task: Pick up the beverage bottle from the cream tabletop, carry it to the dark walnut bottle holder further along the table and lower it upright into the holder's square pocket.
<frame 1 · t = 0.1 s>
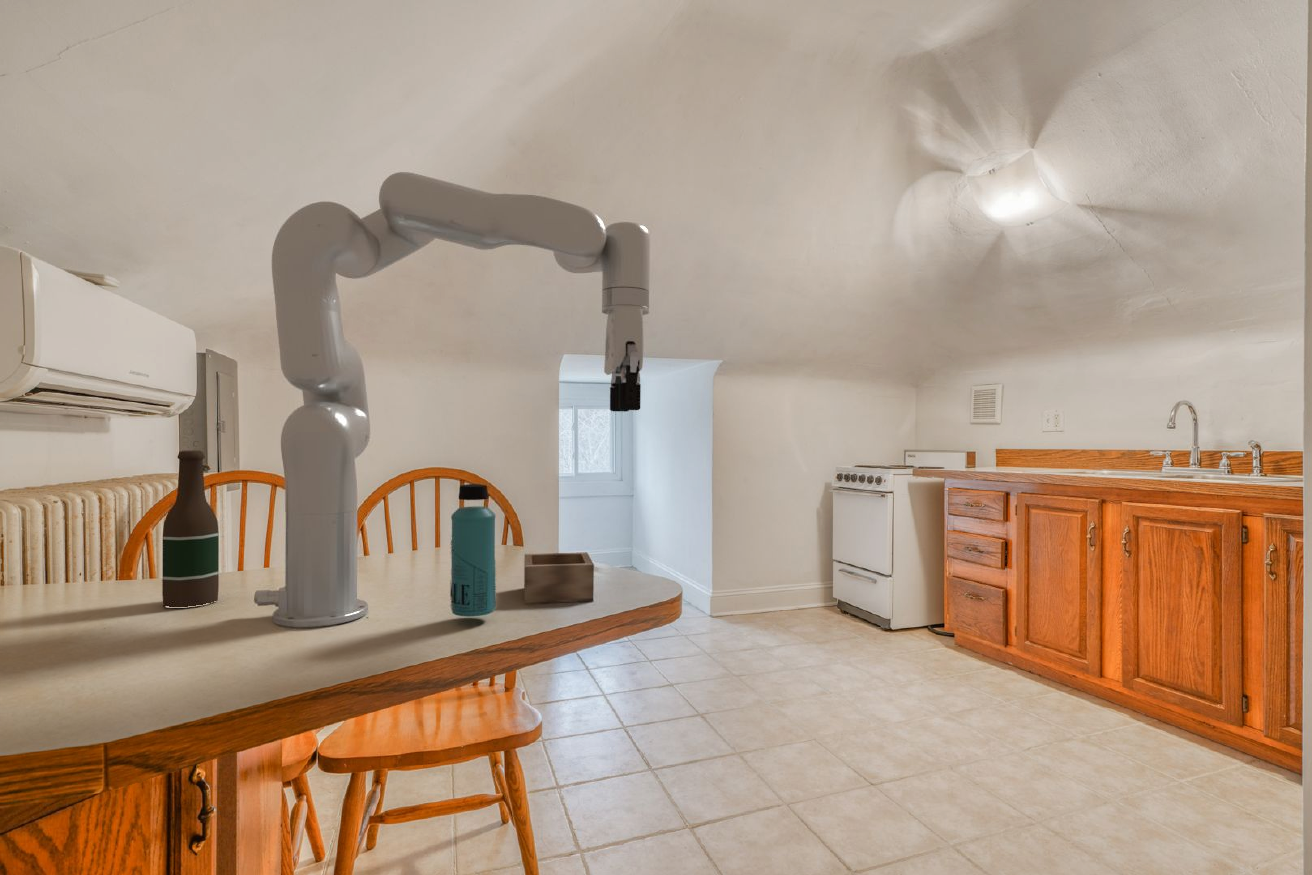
hand: (624, 410, 109), 31 cm above the counter, tool pointing down, fingers open, 9 cm apart
holder: (557, 594, 115), on the counter
beer bottle: (190, 604, 107), on the counter
beverage bottle: (472, 622, 99), on the counter
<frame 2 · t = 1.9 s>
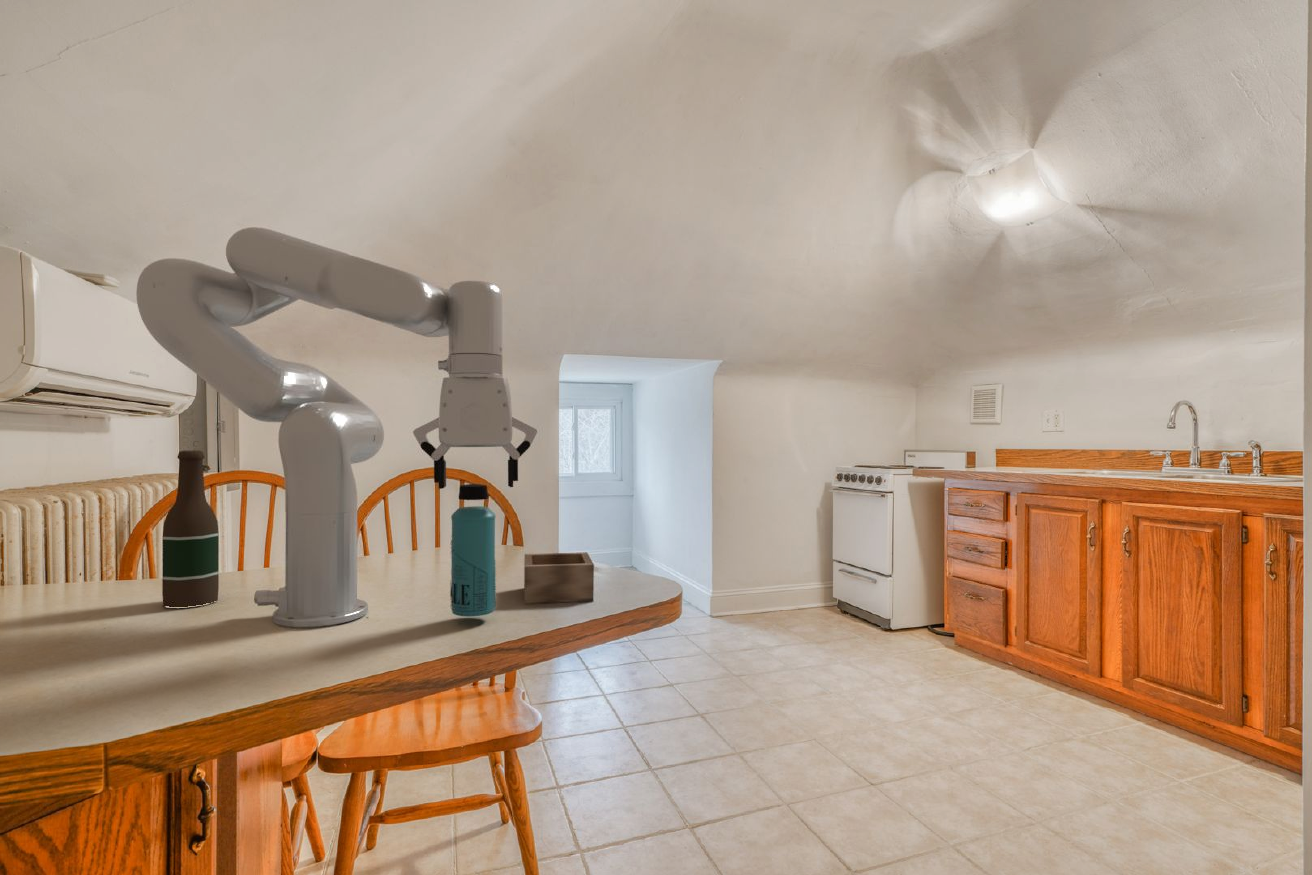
hand: (476, 487, 98), 20 cm above the counter, tool pointing down, fingers open, 9 cm apart
nothing on the counter moved.
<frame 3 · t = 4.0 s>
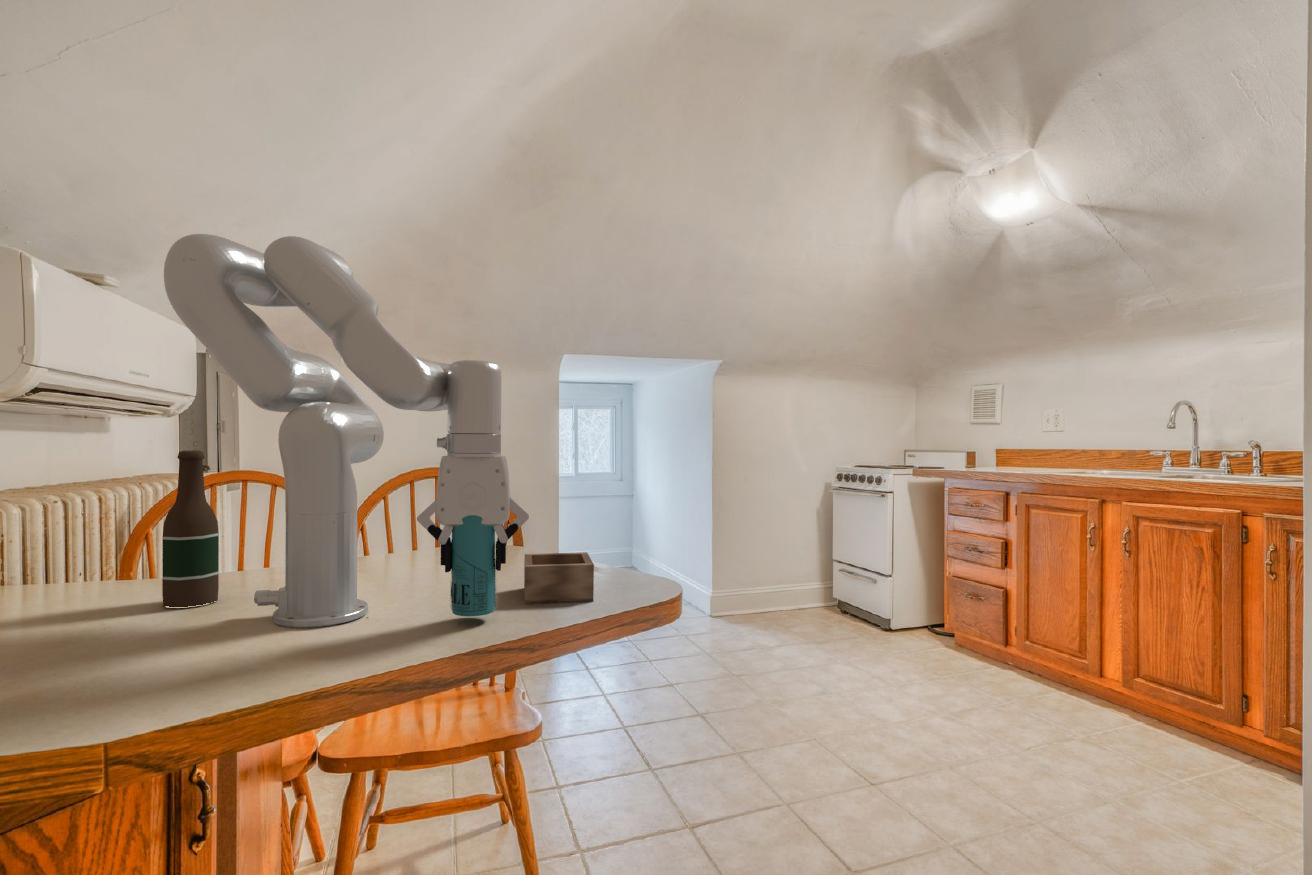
hand: (473, 568, 99), 8 cm above the counter, tool pointing down, fingers closed on beverage bottle, 6 cm apart
beverage bottle: (473, 622, 99), on the counter, touching gripper
everything else where it was.
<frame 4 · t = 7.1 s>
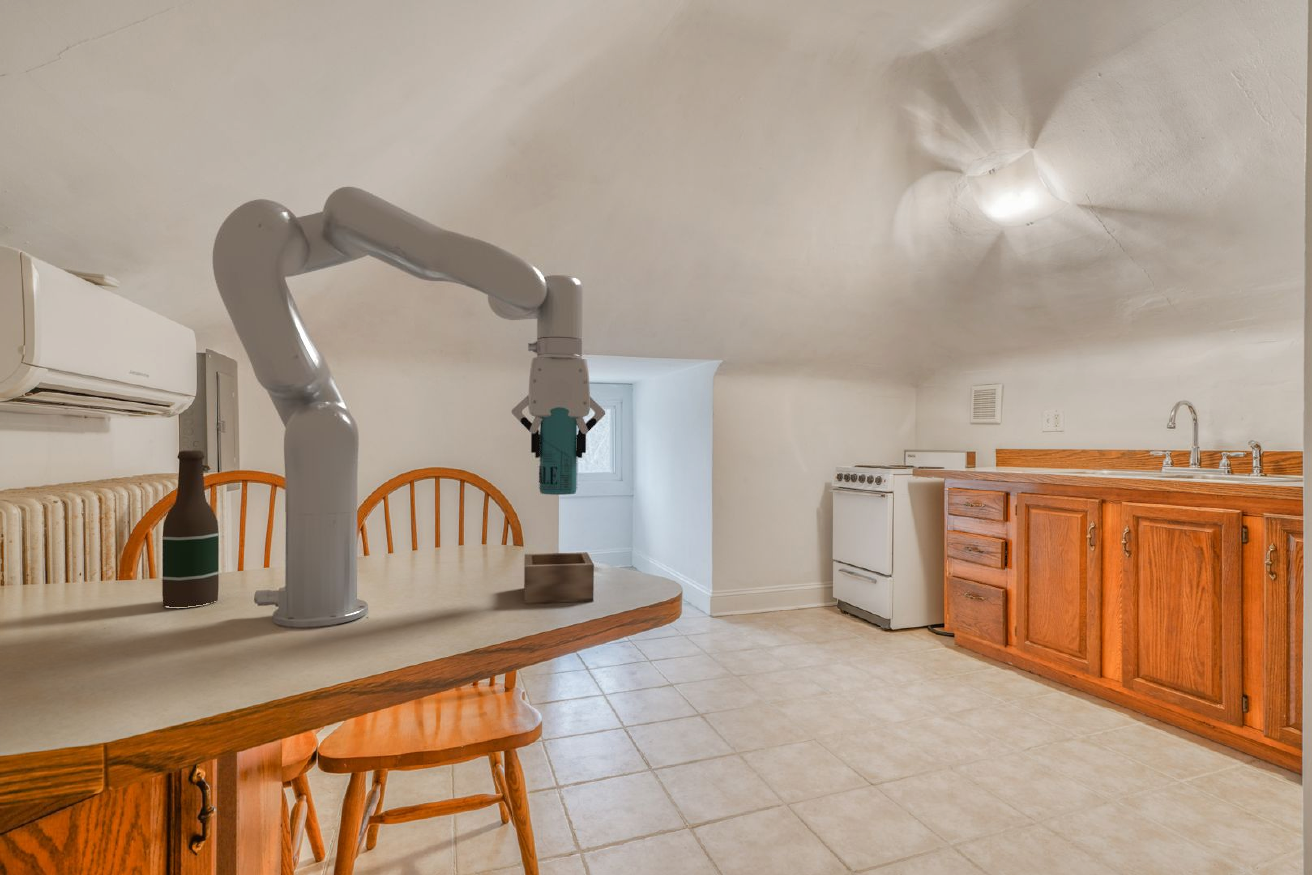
hand: (558, 456, 115), 23 cm above the counter, tool pointing down, fingers closed on beverage bottle, 6 cm apart
beverage bottle: (557, 502, 115), point 16 cm above the counter, touching gripper
everything else where it was.
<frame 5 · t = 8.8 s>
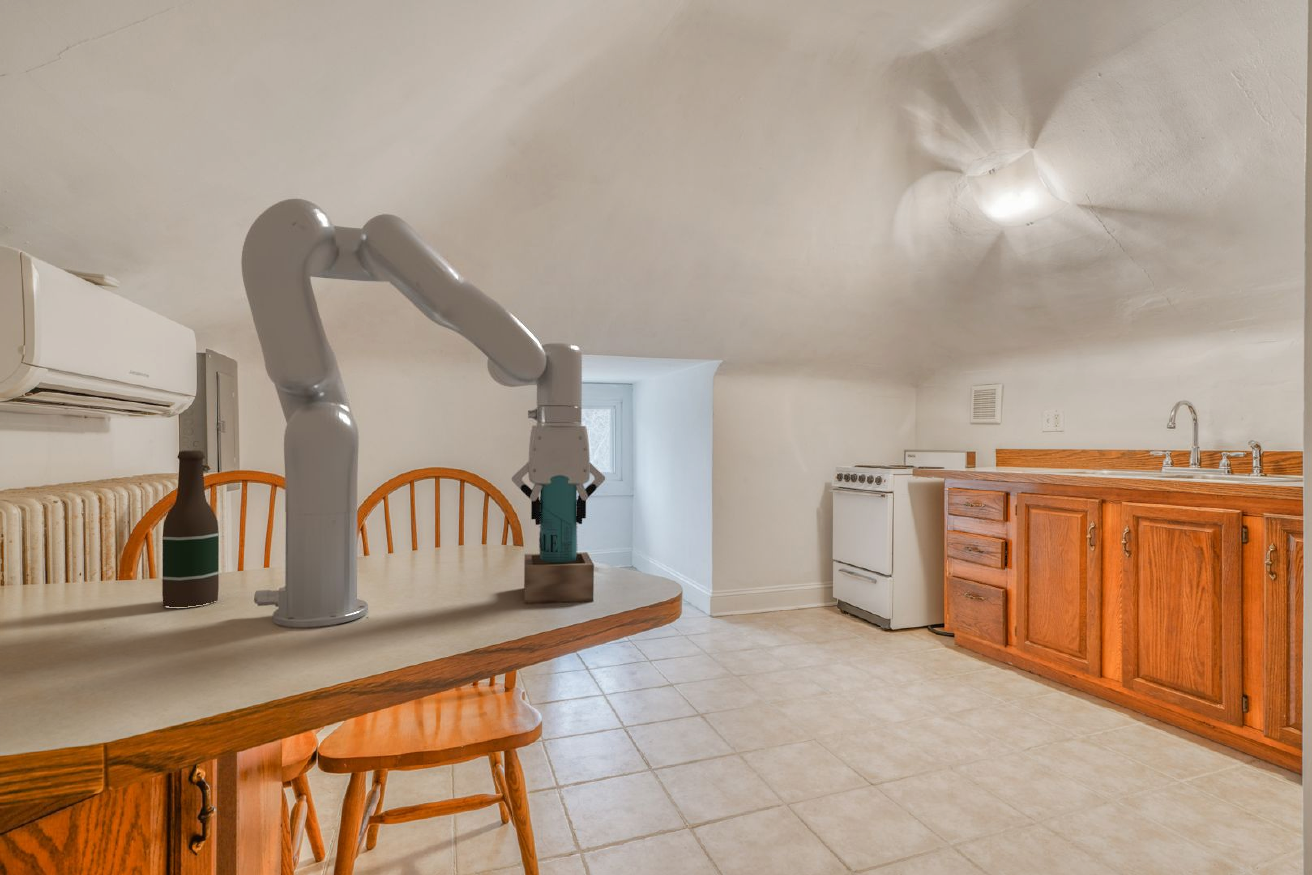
hand: (558, 522, 115), 12 cm above the counter, tool pointing down, fingers closed on beverage bottle, 6 cm apart
beverage bottle: (557, 568, 115), point 4 cm above the counter, touching gripper
everything else where it was.
when the fingers open (8 cm above the counter, at t = 10.4 s): beverage bottle stays where it is, resting on holder.
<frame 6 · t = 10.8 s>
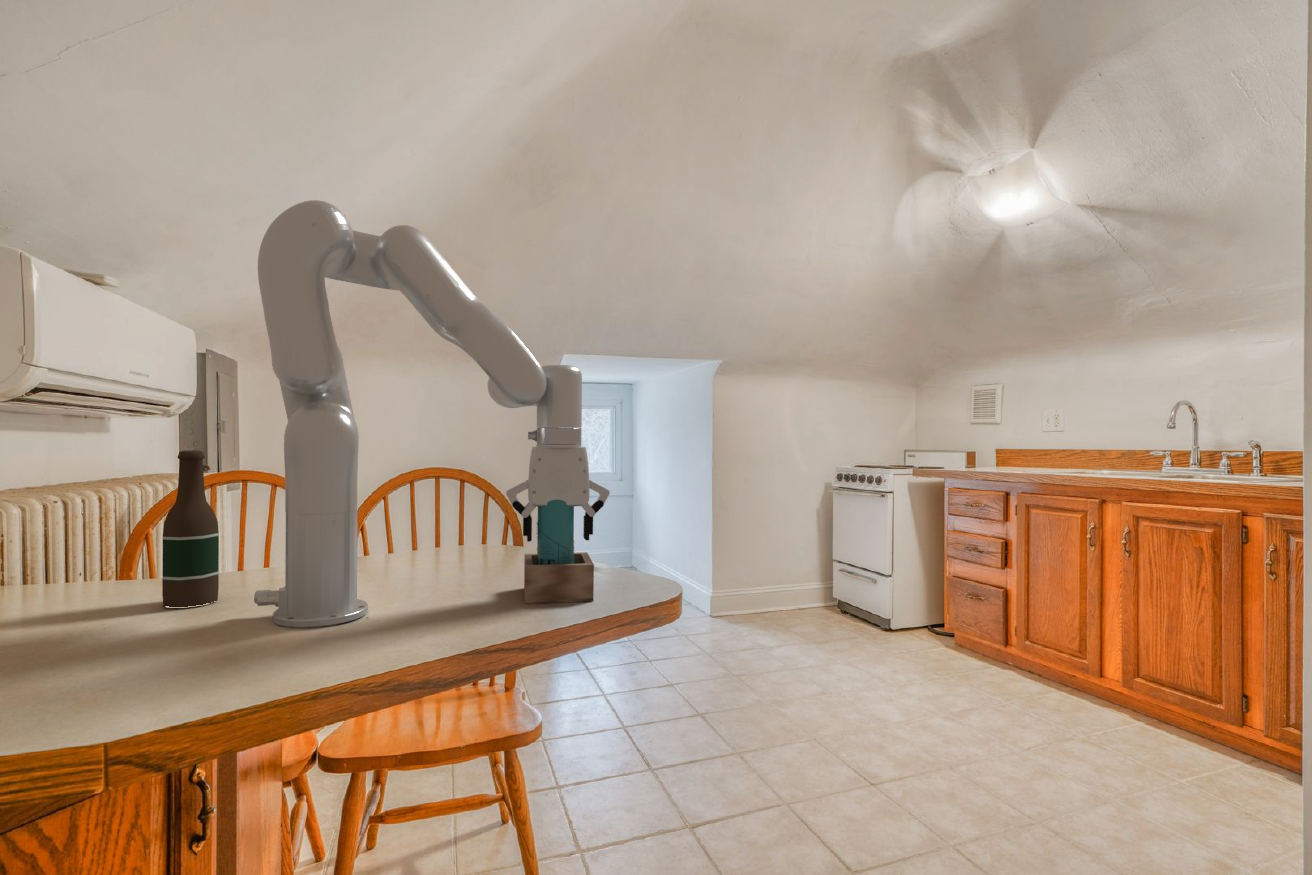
hand: (558, 539, 115), 9 cm above the counter, tool pointing down, fingers open, 9 cm apart
beverage bottle: (555, 592, 115), resting on holder
everything else where it was.
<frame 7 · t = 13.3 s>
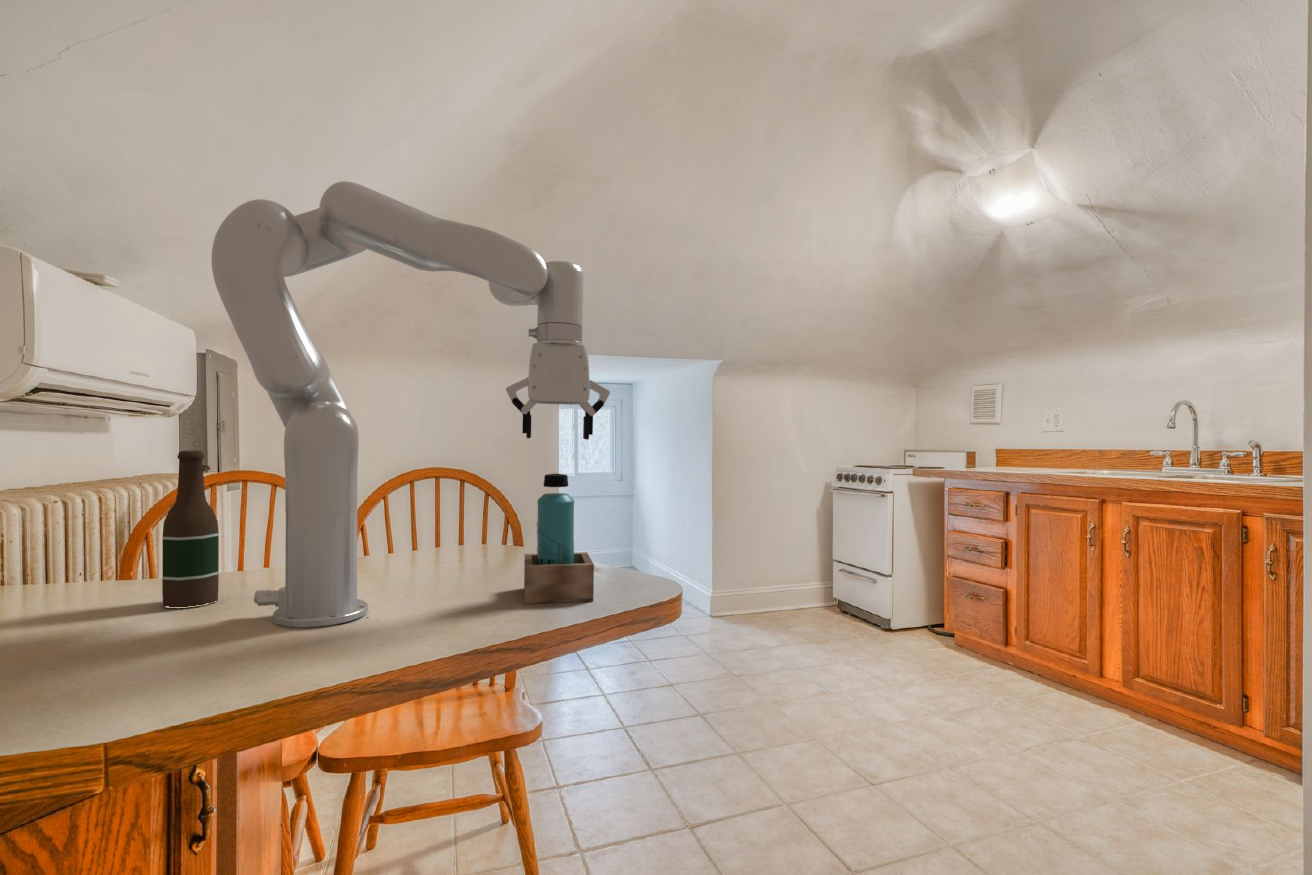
hand: (557, 438, 115), 26 cm above the counter, tool pointing down, fingers open, 9 cm apart
nothing on the counter moved.
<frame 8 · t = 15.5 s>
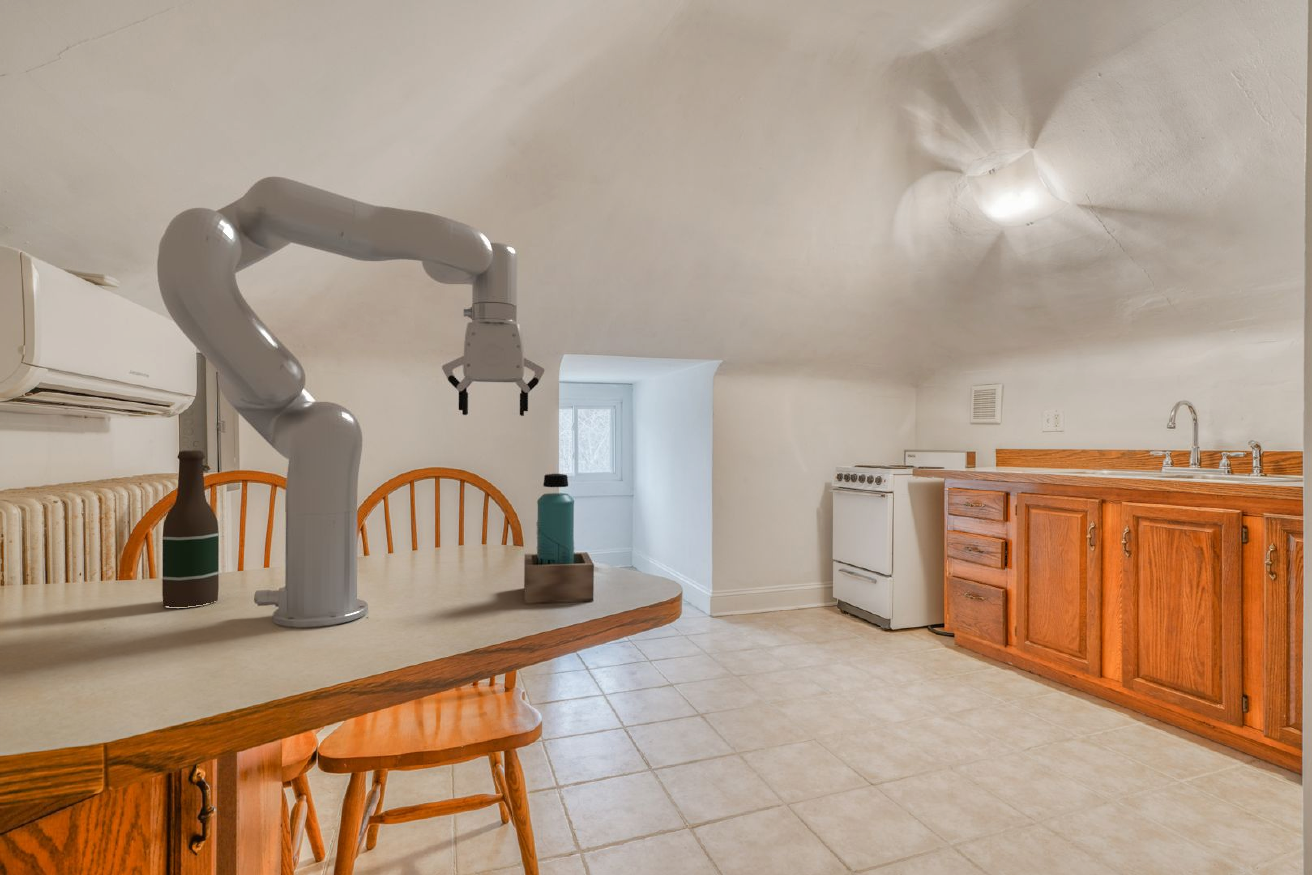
hand: (493, 415, 118), 30 cm above the counter, tool pointing down, fingers open, 9 cm apart
nothing on the counter moved.
at the end: beverage bottle inside the target area on the holder (0.4 cm from its centre), point 0.3 cm above the holder's base; beverage bottle tilted 0°; the gripper is holding nothing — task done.
